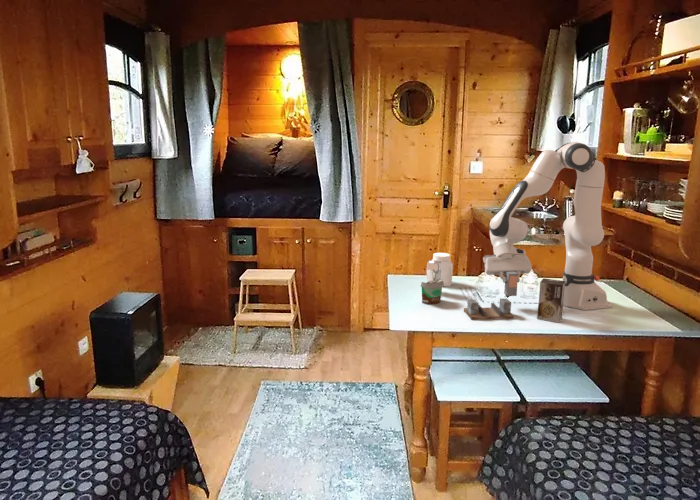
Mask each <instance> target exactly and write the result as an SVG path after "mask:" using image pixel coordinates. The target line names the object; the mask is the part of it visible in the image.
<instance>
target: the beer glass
mask: <svg viewBox="0 0 700 500" xmlns="http://www.w3.org/2000/svg"><path fill="white" fill-rule="evenodd" d="M441 272H442V262H441V261H438V260H432V259H429V260H428V261H427V264H426V279H427V282H429V281H435V280H438V278H441Z"/></svg>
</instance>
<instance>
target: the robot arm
mask: <svg viewBox="0 0 700 500" xmlns="http://www.w3.org/2000/svg"><path fill="white" fill-rule="evenodd" d="M566 168H567V169H572V170H575V171H576V182H575V187H574V188H575V190H574V195H573V207H574V213H575V214H574V215H571V216H568V217H566V219H565V220H564V221H563V224H562V229H563V231H564V241H565V244H564V245H565V253H566V255H565V267H564V271H563V274H562V281H565V292H564V303H563V306H565V307H569V308H573V309H578V310H582V311H591V310H599V309H611V308H612V307H613V305H612V303H611V302H610V301H609V300H608V296H607V292H606V291H605V290H604V289H603V288H602V287H600V285H599V284H597V283H596V282H598V281H600V279H601V278H600V276H598V275H594V274H593V273H592V272H593V263H594V255H593V251H592V247H594V246H598V245H600V244H601V243H602V241H603V239H604V238H605V230H604V227H603V225H602V202H603V201H602V200H603V194H604V188H605V187H604V186H605V177H606V173H605V172H606V169H605V165H604V163H603V162H601V161H600V160H597V159H596V158H595V157H594V155H593V152H592V149H591V148H590V147H589V146H588V145H587V144H585V143H582V142H577V141H573V142H567V143H564V144H563V145H561V146H560V147H558V148H557V149H556V150H552V149H546V150H543V151H542V152H541V153H540V154H539V156H537V157H536V160H535V161H534V163H533V165H532V166H531V168H530V170H529V172H528V174H527V175H526V176H525V178H523V179H522V180H520V181H518V182H517V183H516V184H515V186H514V187H513V188H512V189H511V191H510V193H509V194H508V196H507V197H506V199H505V200H504V201H503V202H502V205H501V206H500V208H499V209H498V211H496V212H495V214H494V215H493V216H492V217H491V218H490V221H489V224H488V227H489V238H490V242H491V246H492V247H493V248H492V249H493V250H492V251H493V254H486V255H484V256H483V257H482V261H483V263H484V271H485V274H486V275H488V276H495V275H496V276H498V277H499V278H500V279H501V280H502V282H503V284H505V283H507V282H508V280H507V278H505V276H504V275H505V272H506V271H515V272H516V273H518V281H517V283H520V281H521V280H520V276H521V274H522V275H523V274H524V275H525V274H530V273H531V271H532V270H533V266H532V262H531V261H530V258H529V257H528V256H527V251H526V250H525V249H522V248H518V247H515V246H514V244H518V243H520V242H522V241H523V240H525V239H526V238H527V236H528V234H529V225H528V223H527V222H526V221H523V220H522V219H519V218H516V217H512V216H513V214H514V212H515V211H516V209H517V208H518V206H520V203H521V202H522V201H523V200H524V199H526V198H531V197H536V196H537V197H538V196H543V195H544V194H547V193H548V192H549V190H550V189H551V188H552V186H553V185H554V182H555V180H556V178H557V176H558V174H559V173H560V172H561V171H562V170H563V169H566ZM595 281H596V282H595Z"/></svg>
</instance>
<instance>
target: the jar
mask: <svg viewBox="0 0 700 500" xmlns="http://www.w3.org/2000/svg"><path fill="white" fill-rule="evenodd" d="M431 260H438V261H441V262H442V272H441V279H443V282H444V286H443V287H451V286H452V285H453V267H454V264H453V262H452V261H451V254H450V253H447V252H435V253H433V255H432V259H431Z"/></svg>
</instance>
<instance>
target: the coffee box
mask: <svg viewBox="0 0 700 500" xmlns="http://www.w3.org/2000/svg"><path fill="white" fill-rule="evenodd" d="M564 292H565V281H563V280H558V279H552V278H542V279H541V281H540V282H539V291H538V304H537V305H538V306H537V315H536V316H537V317H536V319H538V320H543V321H550V322H554V323H560V322H561V321H562V319H563V312H564V311H563V310H564V305H563V303H564Z"/></svg>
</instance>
